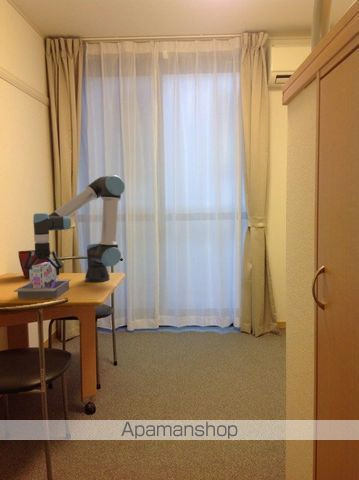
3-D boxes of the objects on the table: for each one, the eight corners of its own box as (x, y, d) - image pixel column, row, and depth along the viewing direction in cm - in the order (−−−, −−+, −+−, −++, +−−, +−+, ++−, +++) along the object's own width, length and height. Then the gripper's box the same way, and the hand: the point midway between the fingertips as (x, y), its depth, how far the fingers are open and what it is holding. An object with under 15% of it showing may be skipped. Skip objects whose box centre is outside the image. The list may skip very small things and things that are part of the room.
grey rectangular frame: (71, 287, 215) (70, 279, 215) (54, 300, 188) (53, 290, 188) (36, 287, 216) (35, 279, 215) (14, 300, 189) (13, 290, 188)
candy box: (42, 297, 195) (40, 266, 193) (32, 296, 196) (30, 265, 194) (56, 290, 208) (54, 261, 207) (46, 290, 209) (45, 261, 208)
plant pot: (19, 275, 255) (18, 250, 254) (48, 272, 263) (47, 249, 261) (19, 280, 238) (18, 254, 236) (51, 277, 246) (50, 252, 244)
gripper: (67, 241, 203) (69, 279, 205) (22, 241, 203) (24, 280, 205) (62, 242, 195) (64, 282, 197) (15, 243, 196) (18, 283, 198)
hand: (44, 281), depth 201 cm, fingers open, 13 cm apart
